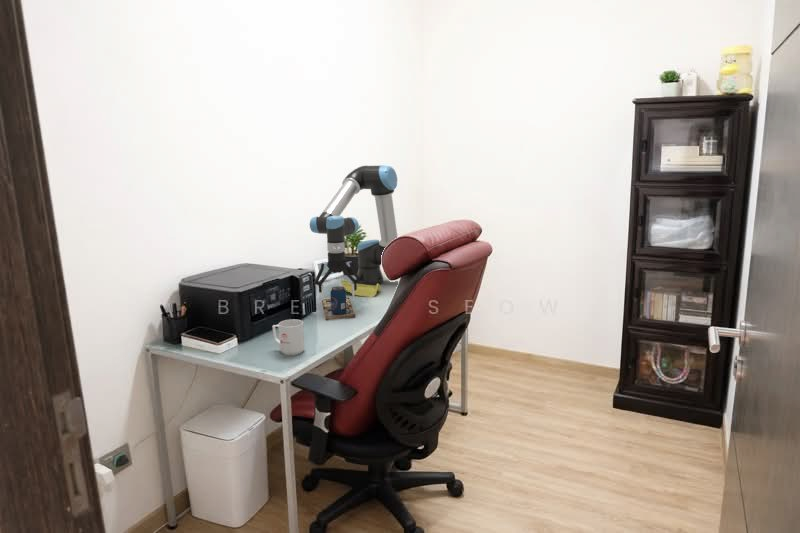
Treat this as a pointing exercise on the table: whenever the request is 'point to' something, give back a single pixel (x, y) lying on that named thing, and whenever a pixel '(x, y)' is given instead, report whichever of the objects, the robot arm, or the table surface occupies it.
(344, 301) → the soda can
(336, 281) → the table surface
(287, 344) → the mug
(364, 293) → the plastic component
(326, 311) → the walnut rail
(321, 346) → the table surface
